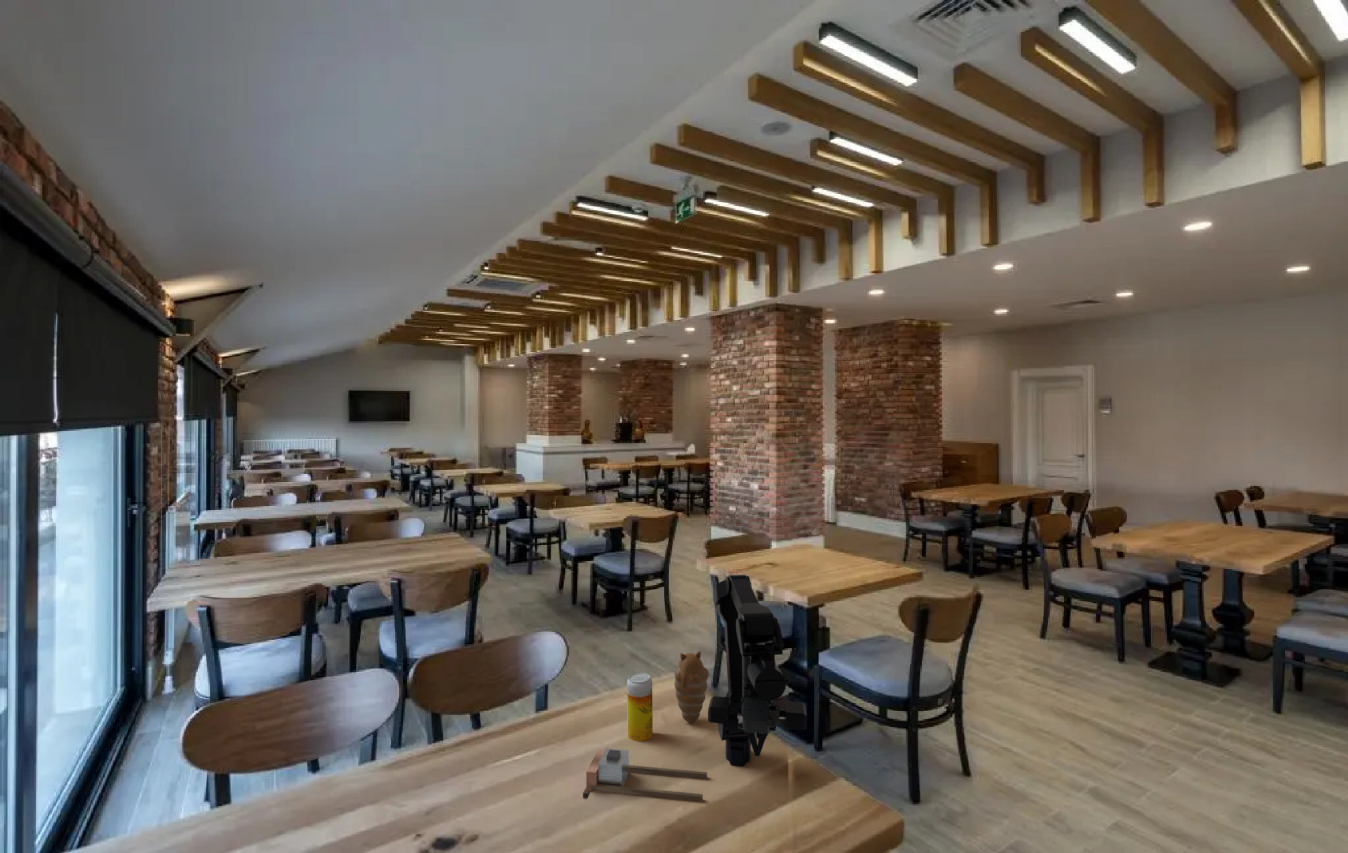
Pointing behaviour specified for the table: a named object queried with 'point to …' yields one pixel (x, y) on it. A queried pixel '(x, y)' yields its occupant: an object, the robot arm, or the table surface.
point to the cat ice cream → (691, 685)
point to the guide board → (594, 786)
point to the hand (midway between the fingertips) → (757, 755)
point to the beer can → (639, 707)
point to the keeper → (613, 767)
